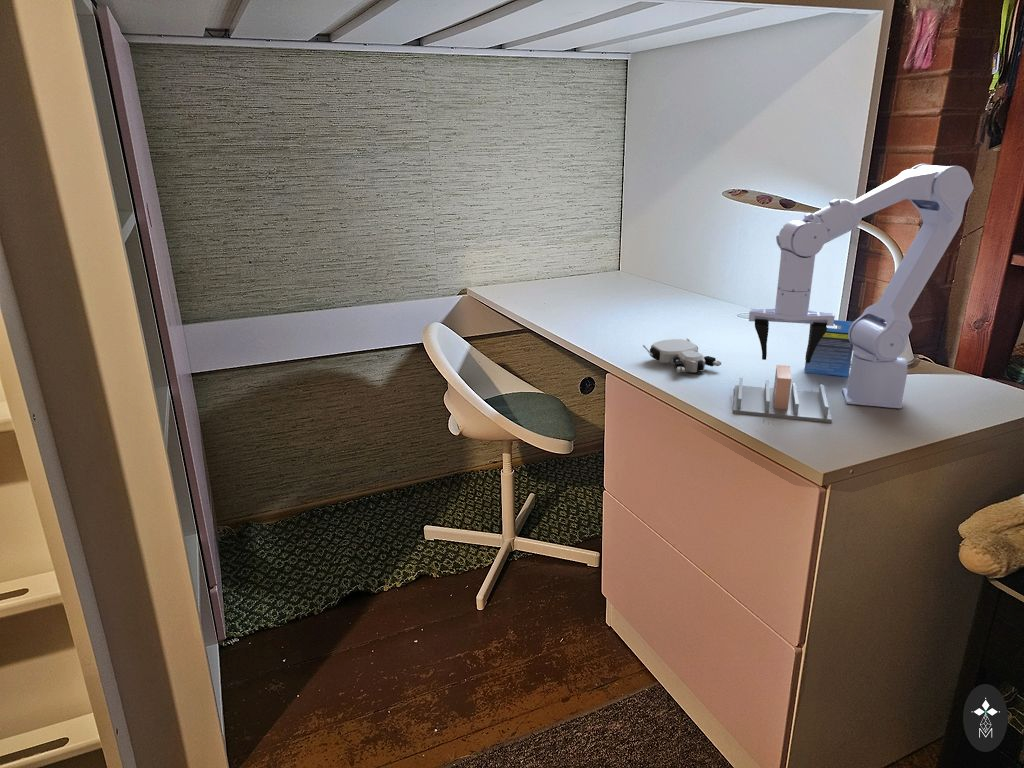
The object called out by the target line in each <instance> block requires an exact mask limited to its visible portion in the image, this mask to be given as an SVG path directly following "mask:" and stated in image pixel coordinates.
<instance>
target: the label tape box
mask: <svg viewBox="0 0 1024 768" xmlns="http://www.w3.org/2000/svg"><path fill="white" fill-rule="evenodd" d="M853 322H854V321H850V320H849V321H848V320H841V319H840V320H839V319H838V320H836V319H834V326H837V327H840V328H833V327H827V331H826V333H825V334H824V336H823V337H822V338H821V340H820V341H819V343H818V345H817V346H816V348H815V350H814V352H813V355H812V357H811V361H810V363H806V361H804V363H805V364H804V373H807V374H813V375H814V374H815V375H816V374H817V375H827V376H828V375H829V376H834V377H835V376H836V377H837V376H838V377H846V378H849V376H850V370H851V363H852V357H853V344H852V343H851V342H850V340H849V338H848V332H849V328H850V326H851V325H852V323H853ZM809 332H810V330H809ZM808 341H809V339H808Z"/></svg>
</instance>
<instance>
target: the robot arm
mask: <svg viewBox="0 0 1024 768" xmlns="http://www.w3.org/2000/svg"><path fill="white" fill-rule="evenodd" d="M974 189H975V188H974V184H973V182H972V179H971V176H970V173H969V171H968V170H967V169H966V168H965V167H963V166H961V165H960V166H959V165H950V166H949V165H947V166H946V165H936V164H935V165H932V164H928V163H920V164H916V165H915V166H913V167H911V168H908V169H905V170H903V171H901V172H900V173H899V174H898V175H897V176H895V177H893V178H892V179H890V180H888V181H886V182H884V183H882V184H881V185H879V186H877V187H876V188H873V189H872V190H870V191H868V192H867V193H865V194H863V195H861V196H859V197H858V198H855V199H854V200H852V201H851V200H848V199H846V198H842V199H837V198H834V199H831V200H830V201H828V205H827V206H825V207H824V208H821V209H818V211H815V212H814V213H811V212H808V213H806V214H804V217H803V219H802V220H796V219H794V220H791V221H788V222H786V223H785V224H784V225H783V226H782V228H781V229H780V230H779V233H778V235H776V237H775V240H776V245H777V246H778V248H779V250H780V260H779V267H778V268H779V270H778V279H777V287H776V295H775V296H776V298H775V307H774V308H750V309H749V313H748V322H754V329H755V331H756V333H757V337H758V339H759V342H760V348H761V360H763V361H767V356H768V355H767V353H768V352H767V351H768V350H767V349H768V347H767V344H768V337H769V336H768V335H769V329H770V328H769V325H770V322H773V323H790V324H807V325H809V331H810V332H809V333H808V334H809V335H808V340H809V341H808V342H807V347H806V351H805V362H806V363H810V361H811V357H812V355H813V352H814V350H815V348H816V346H817V345H818V343H819V341H820V340H821V338H822V337H823V336H824V334H825V333H826V331H827V328H828V327H834V326H835V324H834V320H835V314H834V312H822V311H816V310H814V311H813V310H809V309H810V302H811V301H810V300H811V291H812V283H813V277H814V276H813V275H814V271H815V270H814V268H815V260H816V255H818V254H819V252H821V251H822V249H823V246H824V245H825V244H828V243H829V242H832V241H833V240H835V239H837V238H839V237H841V236H843V235H845V234H848V233H849V232H851V231H853V230H856V229H857V228H858V227H859V225H860V222H861V220H862V218H865V217H868V216H869V215H872V214H874V213H876V212H879V211H881V210H883V209H885V208H889V207H890V206H892V205H895V204H896V203H900V202H901V201H904V200H909V201H910V202H911V204H912V205H913V206H914V207H915V208H916V209H917V211H918V212H919V214H920V217H921V220H922V225H921V226H920V229H919V230H918V232H917V233H916V235H915V237H914V239H913V240H912V243H911V244H910V246H909V247H908V249H907V251H906V253H905V255H904V256H903V258H902V260H901V262H900V263H899V265H898V267H897V268H896V270H895V272H894V274H893V276H892V277H891V279H890V280H889V283H888V284H887V285H886V288H885V290H884V291H883V293H882V295H881V296H880V298H879V300H878V301H877V302H875V303H873V304H871V305H869V306H867V307H866V308H865V309H864V310H863V312H862V314H861V315H859V317H858V318H857V319H854V321H852V322H853V323H852V325H851V326H850V328H849V332H848V338H849V340H850V342H851V343H852V344H853V352H852V358H851V365H850V371H849V376H848V384H847V388H846V387H842V393H843V396H844V400H845V403H846V404H848V405H855V406H856V405H858V406H866V407H867V406H869V407H878V408H879V407H880V408H890V409H902V408H903V406H902V403H903V398H904V393H905V386H906V383H907V377H908V360H907V358H905V357H900V356H901V355H902V354H903V353H904V352H905V350H906V348H907V345H908V338H909V335H910V333H911V331H912V329H913V324H912V322H911V318H910V316H909V314H910V311H912V308H913V307H914V305H915V303H916V302H917V300H918V298H919V296H920V295H921V293H922V291H923V290H924V287H926V284H927V282H928V281H929V279H930V278H931V276H932V274H933V272H934V271H935V269H936V268H937V266H938V264H939V263H940V261H941V259H942V257H943V256H944V254H945V252H946V251H947V249H948V248H949V246H950V243H951V242H952V240H953V239H954V237H955V235H956V233H957V232H958V230H959V228H960V226H961V224H962V221H963V219H964V218H963V217H964V213H965V212H964V211H965V207H966V203H967V201H968V199H969V197H970V196H971V194H972V192H973V190H974ZM827 326H828V327H827Z"/></svg>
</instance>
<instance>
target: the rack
mask: <svg viewBox="0 0 1024 768" xmlns="http://www.w3.org/2000/svg"><path fill="white" fill-rule="evenodd" d="M743 379H744V378H743V377H739V383H738V385H737V384H736V385H735V384H734V385H735V386H734V395H733V406H732V407H733V408H732V413H733V414H737V415H738V414H740V415H748V416H749V415H751V416H759V417H769V418H782V419H791V420H802V421H811V422H813V421H814V422H821V423H832V422H833V418H832V415H831V411H830V407H829V403H828V399H827V394H826V391H825V387H824V384H819V389H818V391H809V390H807V391H806V390H798V388H797V383H796V382H793V381H791V389H790V395H789V403H788V409H779V408H774V398H773V391H774V387H773V388H772V387H771V388H770V380H769V379H766V380H765V383H764V384H765V385H764V387H761V386H751V385H750V386H749V385H743Z"/></svg>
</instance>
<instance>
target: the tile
mask: <svg viewBox="0 0 1024 768" xmlns="http://www.w3.org/2000/svg"><path fill="white" fill-rule="evenodd" d="M791 373H792V372H791V366H790V365H787V364H784V365H783V364H782V365H781V364H776V366H775V374H774V375H775V376H774V383H773V388H774V391H773V398H774V408H779V409H788V403H789V395H790V390H791V388H792V374H791Z"/></svg>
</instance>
